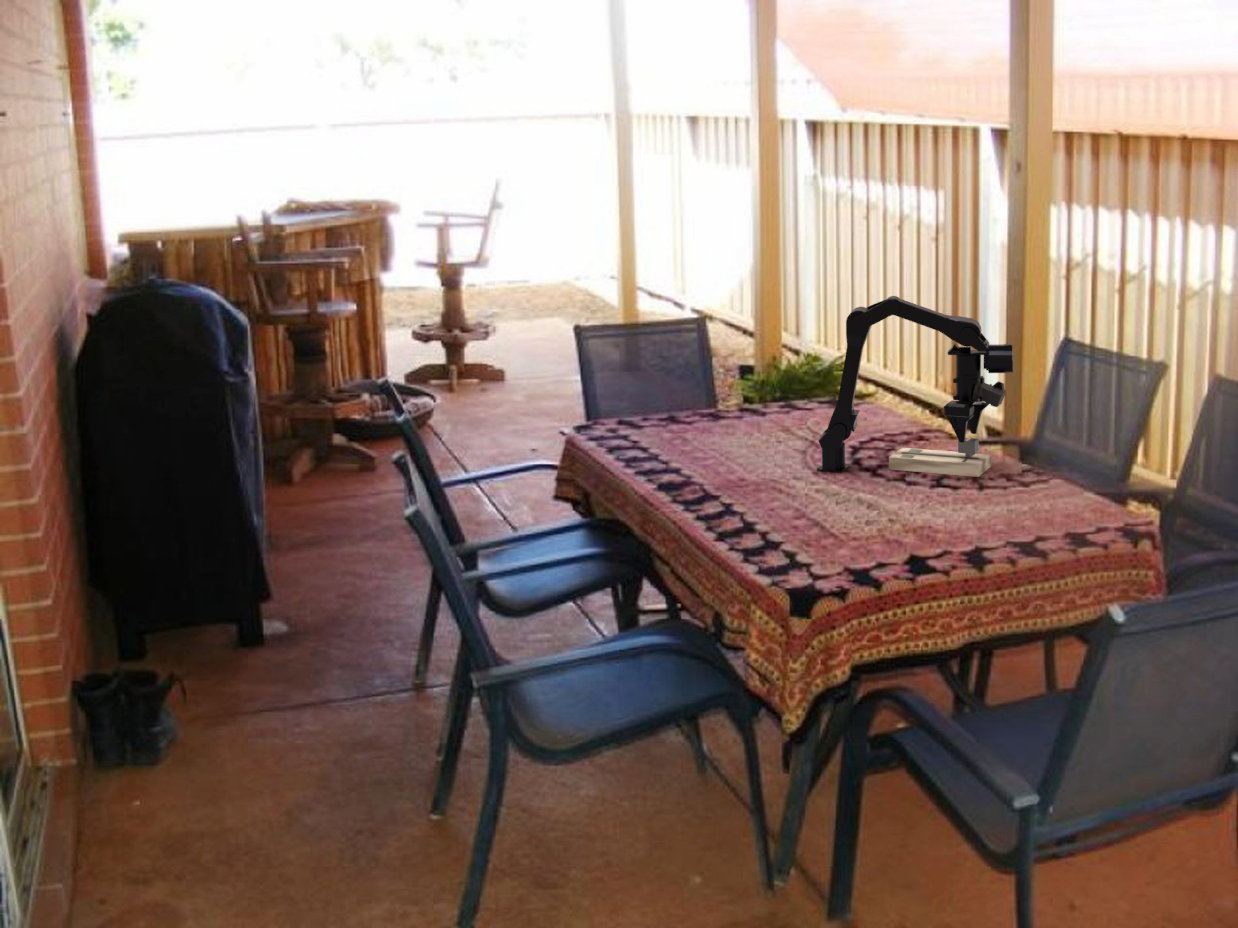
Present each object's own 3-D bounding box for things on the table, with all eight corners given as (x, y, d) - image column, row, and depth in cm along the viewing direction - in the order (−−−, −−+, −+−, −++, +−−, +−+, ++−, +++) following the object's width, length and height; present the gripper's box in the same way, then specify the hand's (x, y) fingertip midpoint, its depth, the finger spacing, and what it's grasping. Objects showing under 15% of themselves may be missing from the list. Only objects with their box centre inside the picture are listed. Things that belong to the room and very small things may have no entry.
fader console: (978, 476, 353) (978, 463, 353) (888, 469, 364) (888, 456, 363) (991, 466, 362) (991, 453, 361) (903, 459, 373) (902, 447, 372)
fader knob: (974, 458, 356) (974, 441, 355) (958, 457, 358) (958, 440, 357) (978, 455, 359) (978, 438, 358) (962, 454, 361) (962, 437, 360)
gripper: (990, 382, 342) (990, 449, 346) (1013, 367, 357) (1012, 431, 361) (942, 380, 347) (942, 446, 351) (967, 365, 363) (967, 428, 367)
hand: (967, 437), depth 358 cm, fingers open, 9 cm apart
